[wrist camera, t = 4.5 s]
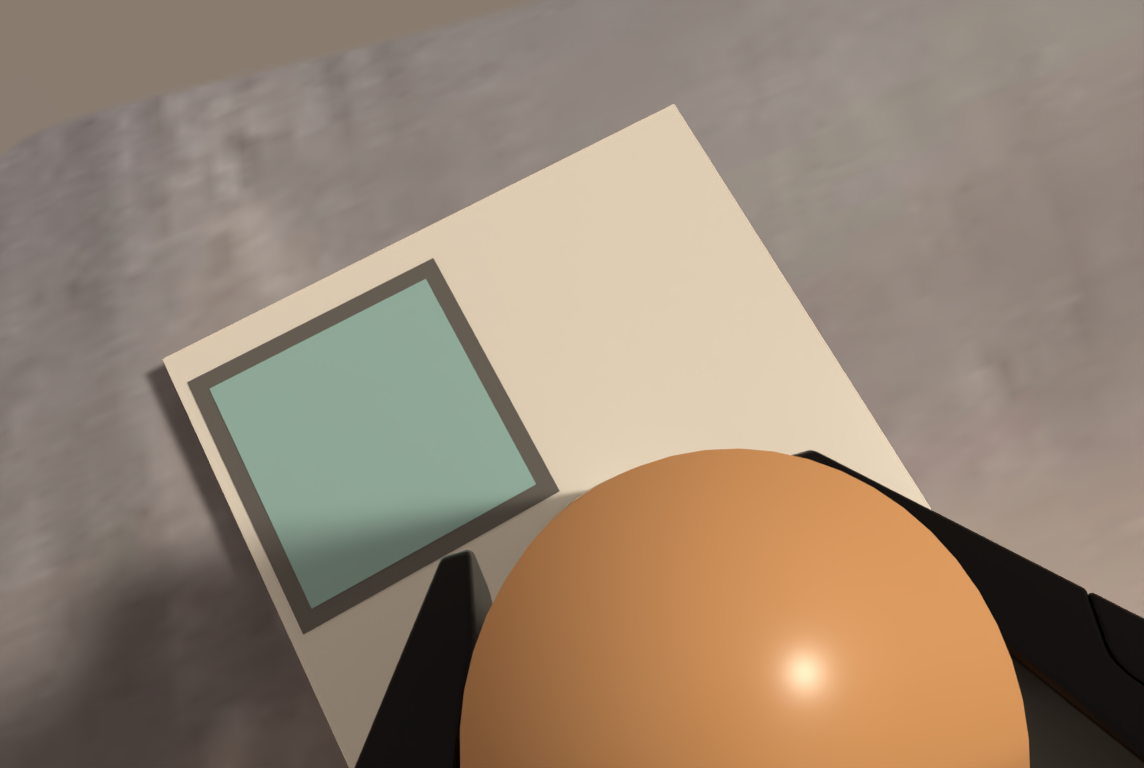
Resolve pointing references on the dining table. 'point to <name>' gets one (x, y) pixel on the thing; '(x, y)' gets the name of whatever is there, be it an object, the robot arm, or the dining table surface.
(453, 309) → the colouring mat
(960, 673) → the marker
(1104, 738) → the robot arm
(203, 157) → the dining table surface
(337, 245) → the dining table surface
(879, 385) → the dining table surface
